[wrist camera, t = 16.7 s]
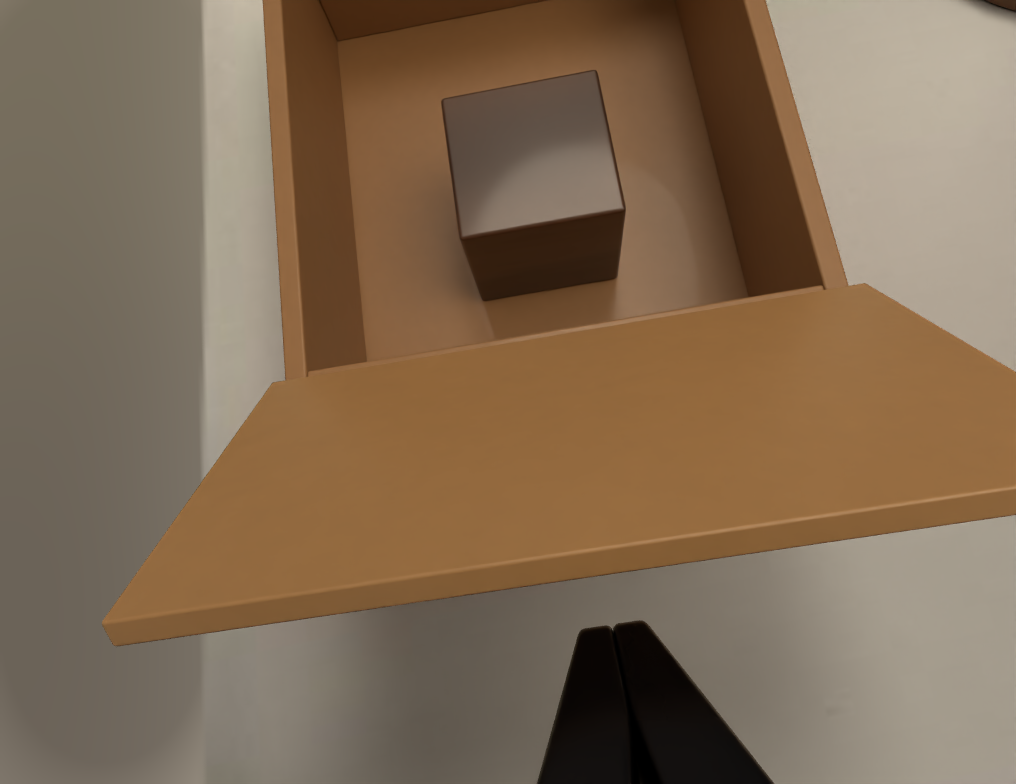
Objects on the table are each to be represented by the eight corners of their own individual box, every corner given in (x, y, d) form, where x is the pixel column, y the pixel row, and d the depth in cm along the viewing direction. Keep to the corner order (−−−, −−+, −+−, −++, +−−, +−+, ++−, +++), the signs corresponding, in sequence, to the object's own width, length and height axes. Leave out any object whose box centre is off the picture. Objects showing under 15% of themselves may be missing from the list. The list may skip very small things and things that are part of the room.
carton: (780, 375, 20) (854, 302, 14) (362, 443, 20) (285, 396, 15) (678, -26, 23) (707, -203, 18) (327, 43, 24) (255, -107, 19)
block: (618, 279, 20) (627, 210, 16) (481, 302, 21) (459, 240, 17) (594, 159, 21) (597, 67, 18) (464, 182, 22) (439, 96, 18)
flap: (865, 282, 14) (864, 302, 14) (271, 382, 14) (277, 399, 15) (1173, 463, 7) (1166, 495, 8) (98, 623, 8) (113, 648, 8)
